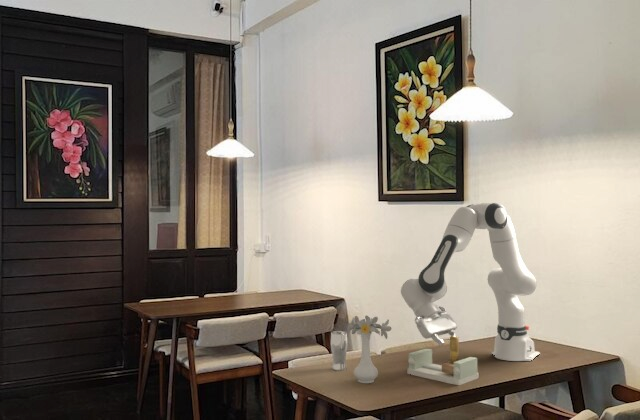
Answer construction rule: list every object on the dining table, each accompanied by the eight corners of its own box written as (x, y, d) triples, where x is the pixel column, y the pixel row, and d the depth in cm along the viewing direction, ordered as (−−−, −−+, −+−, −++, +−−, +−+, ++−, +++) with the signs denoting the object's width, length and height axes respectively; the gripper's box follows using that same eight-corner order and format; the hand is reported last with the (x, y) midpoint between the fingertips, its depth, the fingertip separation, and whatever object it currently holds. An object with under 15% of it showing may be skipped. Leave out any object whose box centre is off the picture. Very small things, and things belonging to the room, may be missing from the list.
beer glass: (346, 371, 263) (346, 334, 263) (329, 370, 265) (329, 334, 265) (348, 367, 270) (348, 331, 270) (332, 366, 272) (332, 330, 271)
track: (427, 367, 269) (427, 348, 269) (478, 378, 252) (478, 357, 252) (407, 373, 259) (407, 353, 259) (458, 385, 242) (458, 364, 242)
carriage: (456, 367, 257) (455, 334, 257) (466, 369, 254) (466, 336, 253) (441, 371, 250) (441, 338, 250) (452, 374, 246) (452, 340, 246)
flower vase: (396, 380, 249) (395, 315, 249) (358, 388, 239) (357, 321, 238) (374, 373, 260) (374, 311, 259) (337, 380, 249) (337, 316, 249)
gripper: (417, 313, 251) (438, 341, 244) (447, 306, 266) (468, 334, 259) (408, 323, 254) (428, 351, 247) (438, 316, 269) (458, 343, 262)
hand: (449, 342), depth 253 cm, fingers open, 8 cm apart
